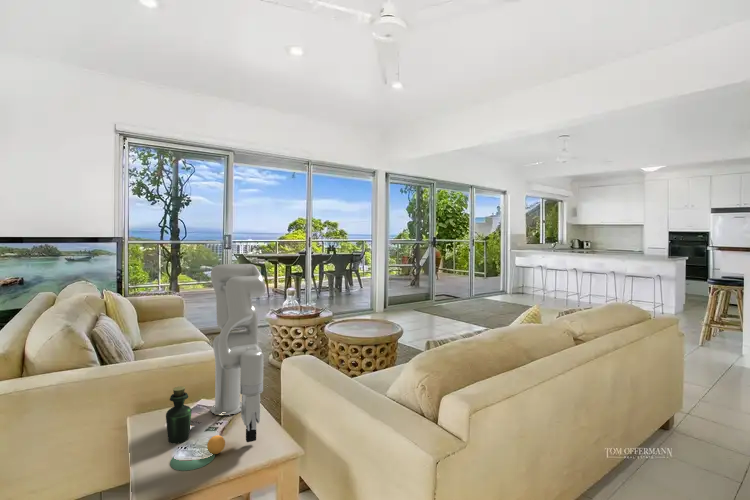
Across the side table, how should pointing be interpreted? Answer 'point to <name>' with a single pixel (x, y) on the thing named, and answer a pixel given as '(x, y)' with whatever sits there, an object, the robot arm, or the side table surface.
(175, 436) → the potion bottle
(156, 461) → the side table surface
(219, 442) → the ball
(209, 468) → the side table surface
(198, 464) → the disc
